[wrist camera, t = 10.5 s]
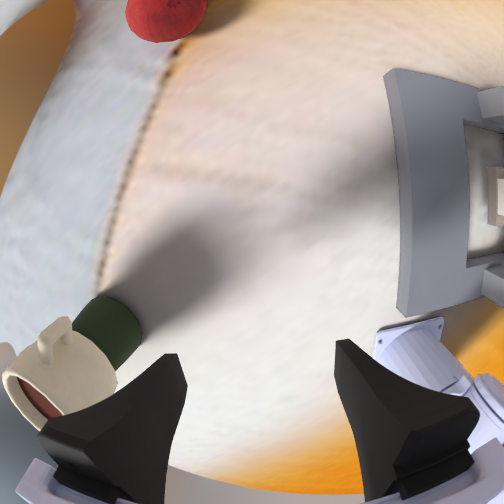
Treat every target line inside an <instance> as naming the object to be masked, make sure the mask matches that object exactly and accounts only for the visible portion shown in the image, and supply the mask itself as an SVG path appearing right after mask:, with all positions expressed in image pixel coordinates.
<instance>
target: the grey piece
mask: <svg viewBox="0 0 504 504" xmlns="http://www.w3.org/2000/svg"><path fill="white" fill-rule="evenodd" d="M383 78H384V82H385V87H386V91H387V96H388V102H389V107H390V113H391V118H392V125H393V132H394V139H395V147H396V156H397V166H398V178H399V195H400V265H399V282H398V294H397V304H396V308H397V309H398V310H399V311H400V312H401V313H402V314H403V315H404V317H405V318H407V317H411V316H416V315H420V314H424V313H428V312H432V311H436V310H440V309H444V308H447V307H451V306H455V305H458V304H462V303H465V302H468V301H472V300H475V299H478V298H481V297H487V298H488V299H490V300H491V301H493V302H494V303H496V304H497V305H499V306H500V307H501V308H504V252H502V253H497V254H493V255H488V256H483V257H478V258H472V259H467V251H468V237H469V209H470V201H469V173H468V159H467V149H466V141H465V134H464V127H463V124H465V125H470V126H475V127H480V128H484V129H488V130H493V131H497V132H501V133H503V136H504V87H503V86H499V87H495V88H491V89H487V90H481V89H478V88H475V87H472V86H469V85H466V84H463V83H459V82H456V81H452V80H448V79H444V78H440V77H436V76H432V75H427V74H422V73H417V72H412V71H406V70H400V69H392V70H390V71H389V72H388V73H386V74H385V75H384V76H383Z"/></svg>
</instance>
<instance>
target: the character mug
mask: <svg viewBox="0 0 504 504" xmlns="http://www.w3.org/2000/svg"><path fill="white" fill-rule="evenodd" d="M141 336H142V331H141V329H140V326H139V324H138V321H137V319H136V318H135V317H134V316H133V315H132V314H131V312H130V311H129V310H128V309H127V308H126V307H125V306H123V305H121V304H120V303H118V302H117V301H115V300H114V299H111V298H108V297H105V296H100V297H97V298H94V299H92V300H91V301H90V302H89V303H88V304H87V305H86V306H85V308H84V309H83V310H82V311H81V312H80V314H79V315H78V316H77V317H76V319H75V320H74V321H73V323H72V324H71V321H70V319H69V318H68V316H64V317H60V318H58V319H57V320H56V321H54V322H53V323H52V324H51V325H49V326H48V327H47V328H46V329H45V330H43V331H42V332H41V334H40V335H39V336H38V340H37V341H36V342H35V343H33V344H32V345H30V346H28V347H27V348H26V349H24V350H23V351H22V352H21V353H20V354H19V356H18V357H17V358H16V359H15V360H14V361H13V362H12V363H11V364H10V365H9V366H8V367H7V369H6V370H5V371H4V373H3V374H2V380H3V384H4V387H5V389H6V391H7V393H8V395H9V397H10V398H11V400H12V402H13V403H14V404H15V406H16V407H17V408H18V410H19V411H20V412H21V413H22V415H23V416H24V417H25V418H26V419H27V420H28V421H29V422H30V423H31V424H32V425H34V427H35V428H37V429H38V430H39V431H41V429H42V428H43V426H44V425H45V423H46V422H47V421H48V419H49V418H54V417H58V416H63V415H67V414H70V413H74V412H77V411H80V410H82V409H85V408H87V407H90V406H92V405H94V404H96V403H98V402H100V401H102V400H104V399H106V398H108V397H109V396H111V395H113V394H114V392H115V389H116V386H117V384H118V382H117V378H116V374H115V371H116V370H117V369H118V368H119V367H120V366H121V365H122V364H123V363H124V362H125V361H126V360H127V359H128V358H129V357H130V356H131V355H132V353H133V352H134V351H135V350H136V349H137V348H138V347H139V345H140V344H141Z"/></svg>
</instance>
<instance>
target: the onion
mask: <svg viewBox="0 0 504 504" xmlns="http://www.w3.org/2000/svg"><path fill="white" fill-rule="evenodd" d="M206 8H207V0H128V3H127V7H126V11H125V13H126V19H127V22H128V25H129V27H130V29H131V31H133V32H134V33H135V34H136V35H137V36H139V37H140V38H142V39H144V40H147V41H151V42H155V43H159V42H169V41H175V40H177V39H180V38H183V37H185V36H186V35H188V34H189V33H191V32H192V31H194V30H195V28H196V27H197V26H198V25H199V24H200V22H201V21H202V19H203V18H204V15H205V12H206Z"/></svg>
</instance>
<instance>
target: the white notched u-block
mask: <svg viewBox="0 0 504 504" xmlns="http://www.w3.org/2000/svg"><path fill="white" fill-rule="evenodd" d="M487 181H488V223H487V224H490V225H493V226H504V167H498V166H487Z"/></svg>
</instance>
